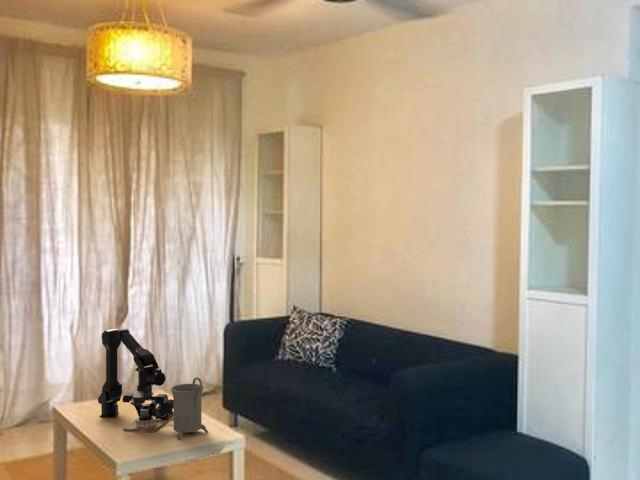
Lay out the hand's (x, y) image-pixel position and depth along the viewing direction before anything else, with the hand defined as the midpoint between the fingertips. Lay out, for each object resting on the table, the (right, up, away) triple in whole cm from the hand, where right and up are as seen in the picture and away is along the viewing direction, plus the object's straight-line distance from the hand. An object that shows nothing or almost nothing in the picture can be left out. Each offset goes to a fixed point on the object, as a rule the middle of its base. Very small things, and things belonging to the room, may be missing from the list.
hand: (145, 417), depth 289 cm
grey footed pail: (+21, -4, -10) cm, 24 cm away
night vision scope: (+5, -4, +14) cm, 15 cm away
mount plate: (0, -4, 0) cm, 4 cm away
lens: (0, -2, 0) cm, 2 cm away
